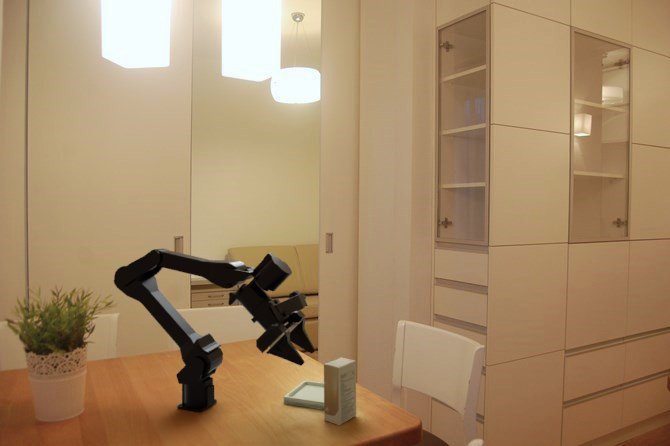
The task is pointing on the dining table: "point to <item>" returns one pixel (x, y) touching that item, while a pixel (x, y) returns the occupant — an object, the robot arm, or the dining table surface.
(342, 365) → the skincare box
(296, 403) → the sage dish
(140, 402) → the dining table surface
